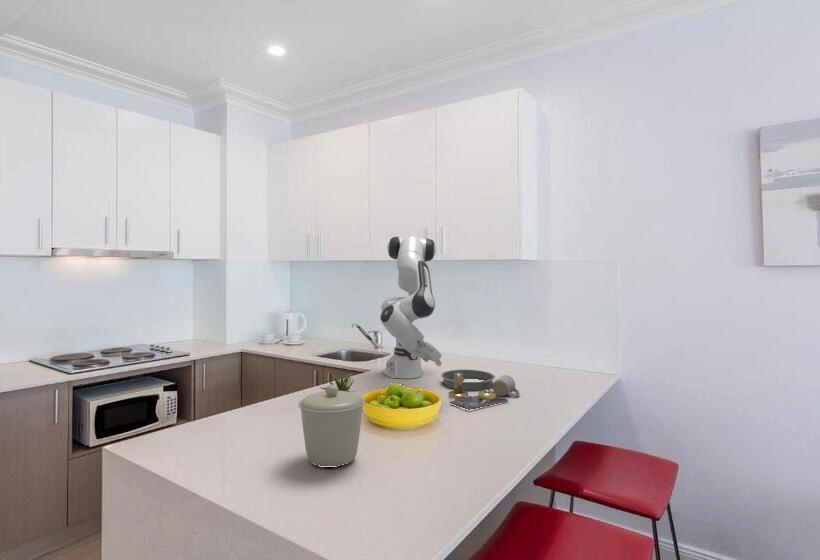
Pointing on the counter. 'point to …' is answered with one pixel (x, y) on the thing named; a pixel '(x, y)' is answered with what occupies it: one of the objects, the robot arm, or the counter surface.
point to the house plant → (342, 383)
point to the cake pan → (469, 374)
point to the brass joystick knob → (458, 387)
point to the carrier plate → (479, 400)
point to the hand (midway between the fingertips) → (433, 362)
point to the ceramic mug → (505, 386)
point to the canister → (331, 426)
